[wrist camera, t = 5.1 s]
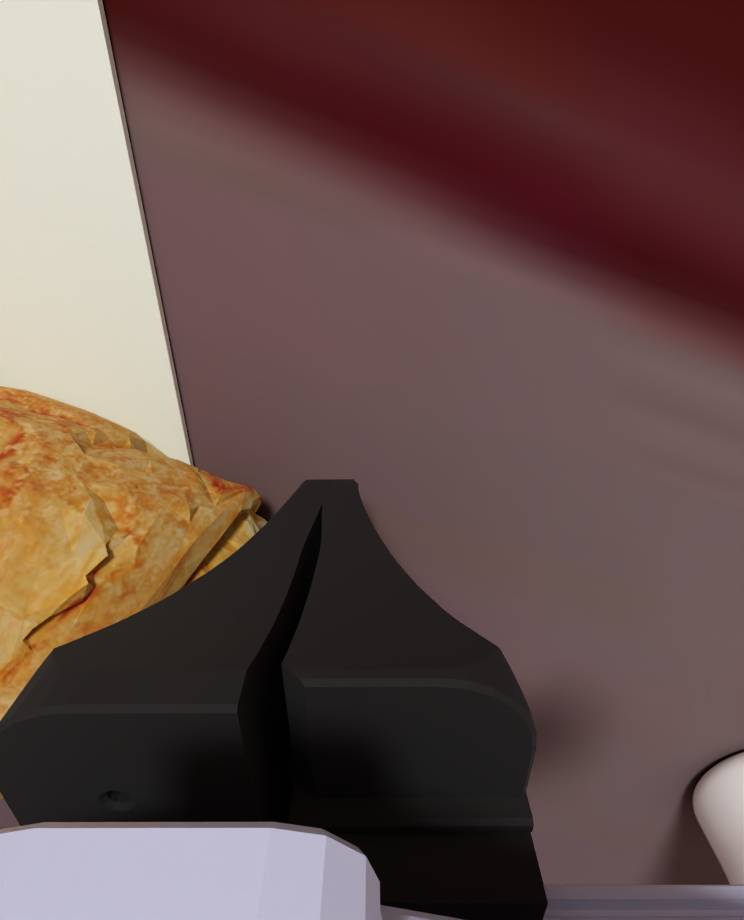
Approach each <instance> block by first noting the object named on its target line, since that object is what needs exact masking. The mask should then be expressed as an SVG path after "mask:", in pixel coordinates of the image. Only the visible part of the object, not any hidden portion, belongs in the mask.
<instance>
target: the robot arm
mask: <svg viewBox="0 0 744 920" xmlns="http://www.w3.org/2000/svg"><path fill="white" fill-rule="evenodd" d="M535 750H536V729H535V726H534V722H533V718H532V715H531V712H530V709H529V707H528V704H527V702H526V700H525V697H524V695H523V693H522V690H521V688H520V686H519V684H518V682H517V680H516V678H515V676H514V674H513V672H512V670H511V668H510V666H509V664H508V662H507V661H506V659H505V657H504V655H503V653H502V652H501V650H500V649H499V648H498V647H497V646H496V645H494V644H493V643H491V642H490V641H488V640H487V639H485V638H483V637H482V636H480V635H479V634H477V633H476V632H474V631H473V630H471V629H470V628H468V627H466V626H465V625H463V624H462V623H460V622H459V621H458V620H456V619H455V618H454V617H452V616H451V615H450V614H449V613H447V612H446V611H445V610H443V609H442V608H441V607H440V606H439V605H438V604H437V603H436V602H435V601H434V600H432V599H431V598H430V597H429V596H428V595H427V594H426V593H425V592H424V591H423V590H422V589H421V588H419V586H418V585H417V584H416V583H415V582H414V581H413V580H412V579H411V578H410V577H409V576H408V574H407V573H406V572H405V571H404V570H403V569H402V567H401V566H400V565H399V564H398V563H397V561H396V560H395V559H394V557H393V556H392V555H391V553H390V552H389V550H388V549H387V548H386V546H385V544H384V543H383V541H382V540H381V538H380V537H379V535H378V533H377V532H376V530H375V528H374V526H373V524H372V522H371V521H370V519H369V517H368V515H367V513H366V511H365V508H364V506H363V503H362V501H361V498H360V495H359V491H358V484H357V483H356V482H355V481H354V480H306V481H304V482H303V483H302V484H301V486H300V487H299V488H298V489H297V490H296V491H295V493H294V494H293V495H292V496H291V497H290V498H289V500H288V501H287V502H286V503H285V504H284V505H283V506H282V507H281V509H280V510H279V511H278V512H277V513H276V514H275V515H274V516H273V517H272V518H271V519H270V520H269V521H268V522H267V523H266V524H265V525H264V526H263V527H262V528H261V529H260V530H259V531H258V532H257V533H256V534H255V535H254V536H253V537H251V538H250V539H249V540H248V541H247V542H246V543H245V544H244V545H243V546H242V547H241V548H239V549H238V550H237V551H236V552H234V553H233V554H232V555H231V556H229V557H228V558H227V559H225V560H224V561H223V562H221V563H220V564H218V565H217V566H216V567H214V568H213V569H212V570H210V571H209V572H207V573H206V574H204V575H202V576H201V577H199V578H198V579H196V580H194V581H193V582H191V583H190V584H188V585H186V586H185V587H183V588H182V589H180V590H178V591H177V592H175V593H173V594H172V595H170V596H168V597H166V598H164V599H163V600H161V601H159V602H157V603H155V604H153V605H151V606H150V607H148V608H146V609H144V610H142V611H140V612H137V613H135V614H133V615H131V616H129V617H127V618H125V619H123V620H121V621H119V622H117V623H114V624H112V625H110V626H107V627H105V628H103V629H100V630H98V631H95V632H93V633H91V634H88V635H86V636H83V637H81V638H79V639H76V640H74V641H71V642H69V643H66V644H64V645H61V646H59V647H56V648H54V649H53V650H52V651H51V653H50V654H49V655H48V656H47V658H46V659H45V660H44V661H43V663H42V664H41V665H40V667H39V668H38V669H37V671H36V672H35V673H34V674H33V676H32V677H31V679H30V680H29V681H28V683H27V684H26V686H25V687H24V688H23V690H22V691H21V693H20V694H19V695H18V697H17V698H16V700H15V701H14V702H13V704H12V705H11V707H10V708H9V709H8V711H7V712H6V714H5V715H4V717H3V718H2V719H1V721H0V792H1V794H2V796H3V797H4V799H5V801H6V802H7V804H8V806H9V807H10V809H11V811H12V812H13V814H14V816H15V817H16V819H17V821H18V822H19V824H20V826H18V827H12V828H6V829H1V830H0V920H744V885H543V881H542V877H541V873H540V869H539V865H538V861H537V857H536V853H535V849H534V845H533V841H532V837H531V833H530V832H532V830H533V817H532V813H531V810H530V806H529V802H528V798H527V794H526V789H527V785H528V780H529V776H530V772H531V767H532V763H533V759H534V754H535Z"/></svg>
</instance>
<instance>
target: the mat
mask: <svg viewBox="0 0 744 920" xmlns="http://www.w3.org/2000/svg"><path fill="white" fill-rule="evenodd" d="M0 386H3V387H9V388H15V389H22V390H27V391H30V392H33V393H36V394H39V395H42V396H46V397H49V398H52V399H55V400H58V401H60V402H63V403H66V404H69V405H72V406H75V407H78V408H80V409H83V410H86V411H89V412H91V413H94V414H96V415H98V416H101V417H103V418H105V419H107V420H110V421H112V422H114V423H116V424H119V425H121V426H123V427H125V428H127V429H130V430H131V431H133V432H135V433H137V434H138V435H139V436H140V437H141V438H142V439H143V440H145V441H146V442H147V443H149V444H150V445H152V446H153V447H155V448H156V449H157V450H159V451H160V452H162V453H163V454H164V455H166V456H167V457H168V458H172V459H177V460H180V461H182V462H185V463H187V464H189V465H192V466H194V465H193V460H192V454H191V449H190V444H189V439H188V434H187V429H186V424H185V419H184V414H183V409H182V404H181V399H180V393H179V388H178V383H177V378H176V373H175V368H174V363H173V358H172V353H171V348H170V343H169V338H168V332H167V327H166V322H165V317H164V312H163V307H162V302H161V297H160V292H159V287H158V282H157V277H156V271H155V266H154V261H153V256H152V251H151V246H150V241H149V236H148V231H147V226H146V221H145V215H144V210H143V205H142V200H141V195H140V190H139V185H138V180H137V175H136V170H135V165H134V160H133V154H132V149H131V144H130V139H129V134H128V129H127V124H126V119H125V114H124V109H123V104H122V99H121V93H120V88H119V83H118V78H117V73H116V68H115V63H114V58H113V53H112V48H111V43H110V38H109V32H108V27H107V22H106V17H105V12H104V7H103V2H102V0H0Z"/></svg>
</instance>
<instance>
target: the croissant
mask: <svg viewBox="0 0 744 920" xmlns="http://www.w3.org/2000/svg"><path fill="white" fill-rule="evenodd" d="M260 504H261V499H260V496H259V495H258V493H257V492H256V491H255V490H254V489H253V487H252V486H247V485H243V484H238V483H234V482H230V481H227V480H224V479H222V478H220V477H217V476H215V475H213V474H210V473H208V472H205V471H203V470H201V469H198V468H196V467H194V466H192V465H189V464H187V463H185V462H182V461H180V460H177V459H172V458H168V457H167V456H166V455H164V454H163V453H162V452H160V451H159V450H157V449H156V448H155V447H153V446H152V445H150V444H149V443H147V442H146V441H145V440H143V439H142V438H141V437H140V436H139V435H138V434H137V433H135V432H133V431H131V430H130V429H127V428H125V427H123V426H121V425H119V424H116V423H114V422H112V421H110V420H107V419H105V418H103V417H101V416H98V415H96V414H94V413H91V412H89V411H86V410H83V409H80V408H78V407H75V406H72V405H69V404H66V403H63V402H60V401H58V400H55V399H52V398H49V397H46V396H42V395H39V394H36V393H33V392H30V391H27V390H22V389H15V388H9V387H3V386H0V721H1V719H2V718H3V717H4V715H5V714H6V712H7V711H8V709H9V708H10V707H11V705H12V704H13V702H14V701H15V700H16V698H17V697H18V695H19V694H20V693H21V691H22V690H23V688H24V687H25V686H26V684H27V683H28V681H29V680H30V679H31V677H32V676H33V674H34V673H35V672H36V671H37V669H38V668H39V667H40V665H41V664H42V663H43V661H44V660H45V659H46V658H47V656H48V655H49V654H50V653H51V651H52V650H53V649H54V648H56V647H59V646H61V645H64V644H66V643H69V642H71V641H74V640H76V639H79V638H81V637H83V636H86V635H88V634H91V633H93V632H95V631H98V630H100V629H103V628H105V627H107V626H110V625H112V624H114V623H117V622H119V621H121V620H123V619H125V618H127V617H129V616H131V615H133V614H135V613H137V612H140V611H142V610H144V609H146V608H148V607H150V606H151V605H153V604H155V603H157V602H159V601H161V600H163V599H164V598H166V597H168V596H170V595H172V594H173V593H175V592H177V591H178V590H180V589H182V588H183V587H185V586H186V585H188V584H190V583H191V582H193V581H194V580H196V579H198V578H199V577H201V576H202V575H204V574H206V573H207V572H209V571H210V570H212V569H213V568H214V567H216V566H217V565H218V564H220V563H221V562H223V561H224V560H225V559H227V558H228V557H229V556H231V555H232V554H233V553H234V552H236V551H237V550H238V549H239V548H241V547H242V546H243V545H244V544H245V543H246V542H247V541H248V540H249V539H250V538H251V537H253V536H254V535H255V534H256V533H257V532H258V531H259V530H260V529H261V528H262V527H263V526H264V525H265V524H266V523H267V521H266V520H265V519H263V518H262V517H260V516H258V515H257V514H255V513H256V511H257V510H258V508H259V506H260ZM3 798H4V797H3V796H2V794H1V792H0V800H1V799H3Z"/></svg>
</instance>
